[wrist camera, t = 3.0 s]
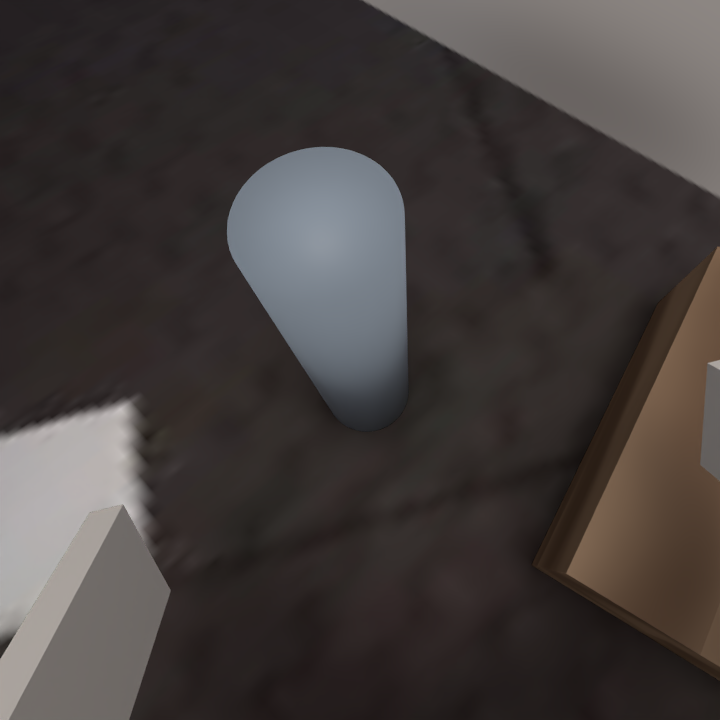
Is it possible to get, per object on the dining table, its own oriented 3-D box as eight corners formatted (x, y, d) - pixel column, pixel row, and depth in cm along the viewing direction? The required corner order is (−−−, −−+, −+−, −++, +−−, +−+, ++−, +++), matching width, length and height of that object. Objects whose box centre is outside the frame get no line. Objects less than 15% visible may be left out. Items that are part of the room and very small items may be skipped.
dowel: (311, 405, 24) (191, 250, 11) (354, 339, 25) (291, 124, 12) (381, 447, 23) (341, 332, 10) (423, 376, 24) (437, 186, 11)
